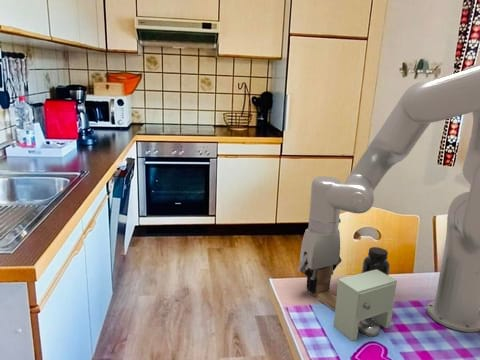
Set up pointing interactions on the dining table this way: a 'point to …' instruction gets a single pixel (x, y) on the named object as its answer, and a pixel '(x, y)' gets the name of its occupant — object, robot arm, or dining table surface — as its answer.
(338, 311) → the cabinet
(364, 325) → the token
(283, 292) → the dining table surface
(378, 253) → the supplement bottle
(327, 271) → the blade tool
